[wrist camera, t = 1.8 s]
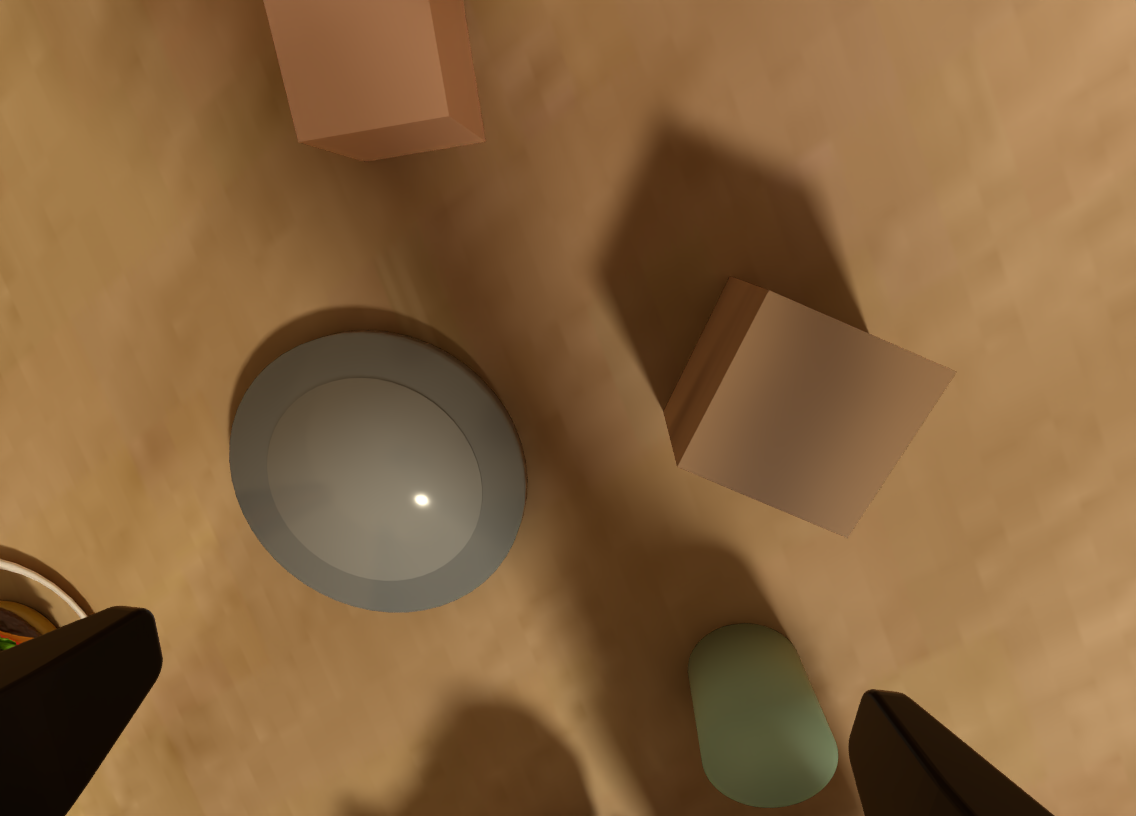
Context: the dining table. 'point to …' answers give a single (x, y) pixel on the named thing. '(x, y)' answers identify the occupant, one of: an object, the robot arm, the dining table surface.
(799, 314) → the walnut block
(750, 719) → the green tin
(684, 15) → the dining table surface
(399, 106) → the terracotta block
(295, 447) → the saucer
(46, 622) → the hamburger
